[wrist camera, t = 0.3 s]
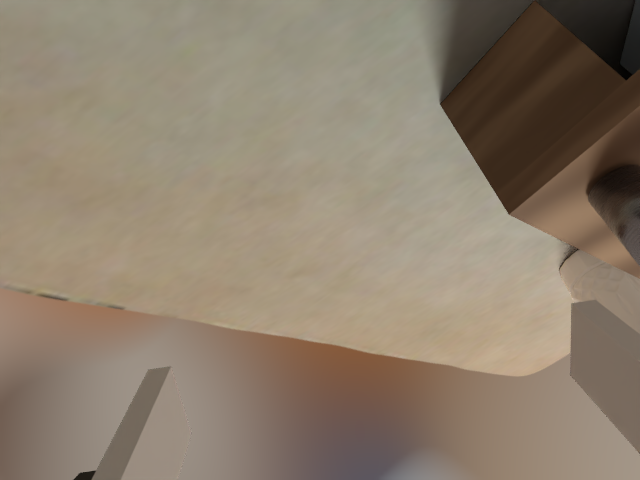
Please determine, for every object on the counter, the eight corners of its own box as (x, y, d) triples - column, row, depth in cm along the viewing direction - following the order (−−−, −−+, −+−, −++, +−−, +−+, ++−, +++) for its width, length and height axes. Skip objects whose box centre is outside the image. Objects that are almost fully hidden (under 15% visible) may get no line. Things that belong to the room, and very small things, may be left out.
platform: (440, 104, 31) (508, 214, 24) (624, -99, 24) (790, -20, 17) (564, 181, 39) (641, 279, 32) (730, 46, 32) (870, 137, 25)
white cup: (621, 221, 45) (696, 310, 38) (638, 254, 50) (706, 338, 44) (542, 264, 48) (599, 354, 41) (566, 291, 53) (619, 375, 47)
